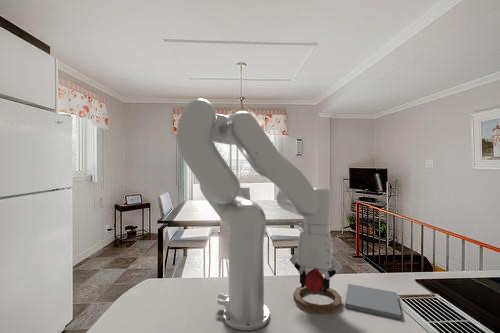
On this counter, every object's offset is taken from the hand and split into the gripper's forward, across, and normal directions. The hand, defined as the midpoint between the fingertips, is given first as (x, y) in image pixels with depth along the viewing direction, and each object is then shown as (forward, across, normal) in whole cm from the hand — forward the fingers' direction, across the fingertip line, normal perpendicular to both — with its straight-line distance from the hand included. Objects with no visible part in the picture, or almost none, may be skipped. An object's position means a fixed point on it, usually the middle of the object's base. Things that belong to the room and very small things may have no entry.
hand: (314, 287), depth 77 cm
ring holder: (+4, +1, +1) cm, 4 cm away
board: (+3, +16, +7) cm, 18 cm away
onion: (+2, 0, 0) cm, 2 cm away
